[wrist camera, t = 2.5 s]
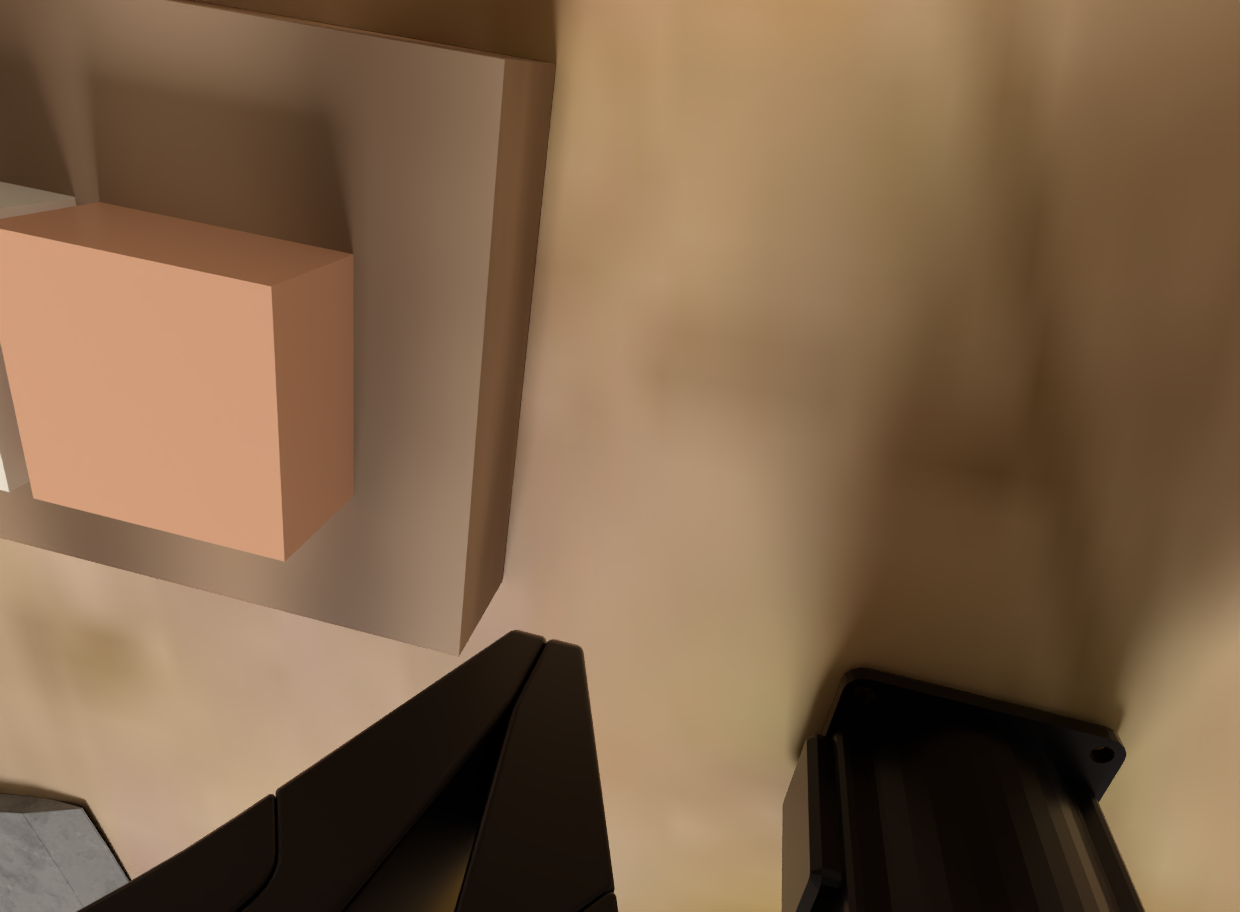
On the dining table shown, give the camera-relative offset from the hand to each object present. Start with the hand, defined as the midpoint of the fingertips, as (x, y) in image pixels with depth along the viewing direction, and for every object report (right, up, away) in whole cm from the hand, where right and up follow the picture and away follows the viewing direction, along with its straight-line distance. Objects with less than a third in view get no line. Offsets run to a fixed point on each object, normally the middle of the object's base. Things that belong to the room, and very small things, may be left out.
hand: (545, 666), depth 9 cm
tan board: (-9, +6, +9) cm, 15 cm away
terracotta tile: (-7, +4, +6) cm, 10 cm away
